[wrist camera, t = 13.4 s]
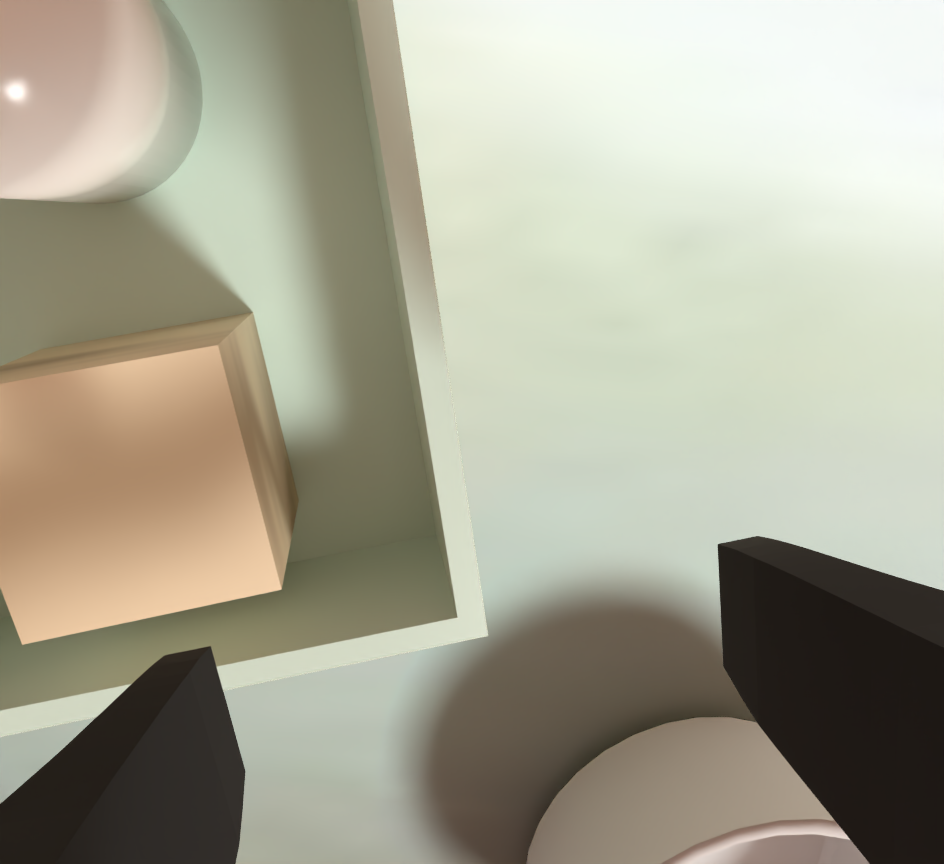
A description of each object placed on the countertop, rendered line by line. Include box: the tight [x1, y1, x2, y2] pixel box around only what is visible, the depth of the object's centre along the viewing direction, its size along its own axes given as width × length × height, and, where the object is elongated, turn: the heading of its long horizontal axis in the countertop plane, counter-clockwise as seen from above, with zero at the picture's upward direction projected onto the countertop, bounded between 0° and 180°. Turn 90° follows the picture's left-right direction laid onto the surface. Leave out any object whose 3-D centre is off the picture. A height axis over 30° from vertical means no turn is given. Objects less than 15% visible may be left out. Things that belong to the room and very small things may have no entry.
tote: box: [0, 0, 488, 737], centre depth 16 cm, size 17×13×5 cm
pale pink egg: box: [0, 0, 203, 204], centre depth 13 cm, size 5×5×7 cm
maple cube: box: [0, 312, 299, 645], centre depth 16 cm, size 5×5×5 cm
